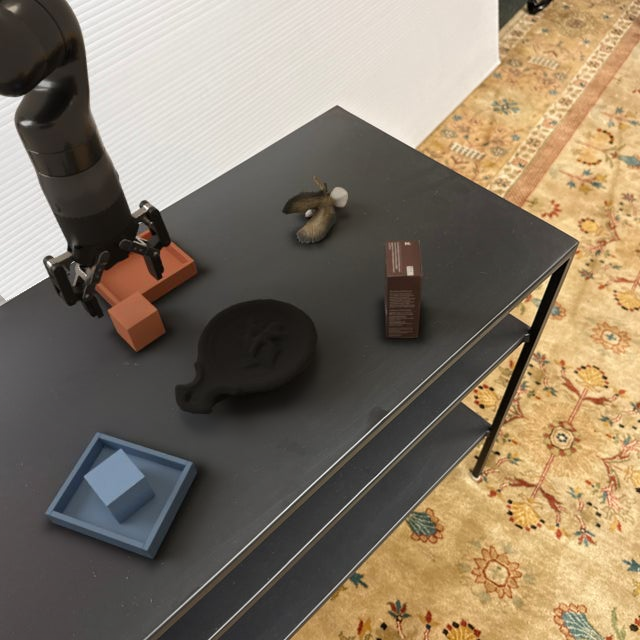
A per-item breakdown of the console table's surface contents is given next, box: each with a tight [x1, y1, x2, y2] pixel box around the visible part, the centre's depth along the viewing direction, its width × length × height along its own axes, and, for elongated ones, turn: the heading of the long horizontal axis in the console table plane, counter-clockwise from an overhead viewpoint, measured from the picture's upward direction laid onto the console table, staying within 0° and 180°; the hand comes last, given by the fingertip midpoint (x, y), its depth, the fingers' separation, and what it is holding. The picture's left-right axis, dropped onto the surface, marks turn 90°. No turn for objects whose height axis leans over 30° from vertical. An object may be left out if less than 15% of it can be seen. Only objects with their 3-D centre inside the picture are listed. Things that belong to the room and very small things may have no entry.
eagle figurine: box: [281, 175, 349, 244], centre depth 95 cm, size 8×7×9 cm
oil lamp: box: [174, 298, 319, 415], centre depth 79 cm, size 15×20×5 cm
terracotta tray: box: [89, 228, 199, 308], centre depth 91 cm, size 12×10×2 cm
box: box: [384, 239, 423, 339], centre depth 80 cm, size 6×4×12 cm
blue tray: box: [44, 431, 198, 560], centre depth 70 cm, size 12×10×2 cm
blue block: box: [84, 449, 155, 524], centre depth 69 cm, size 5×5×5 cm
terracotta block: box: [107, 291, 166, 353], centre depth 84 cm, size 5×5×5 cm
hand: (127, 294), depth 80 cm, fingers open, 8 cm apart
